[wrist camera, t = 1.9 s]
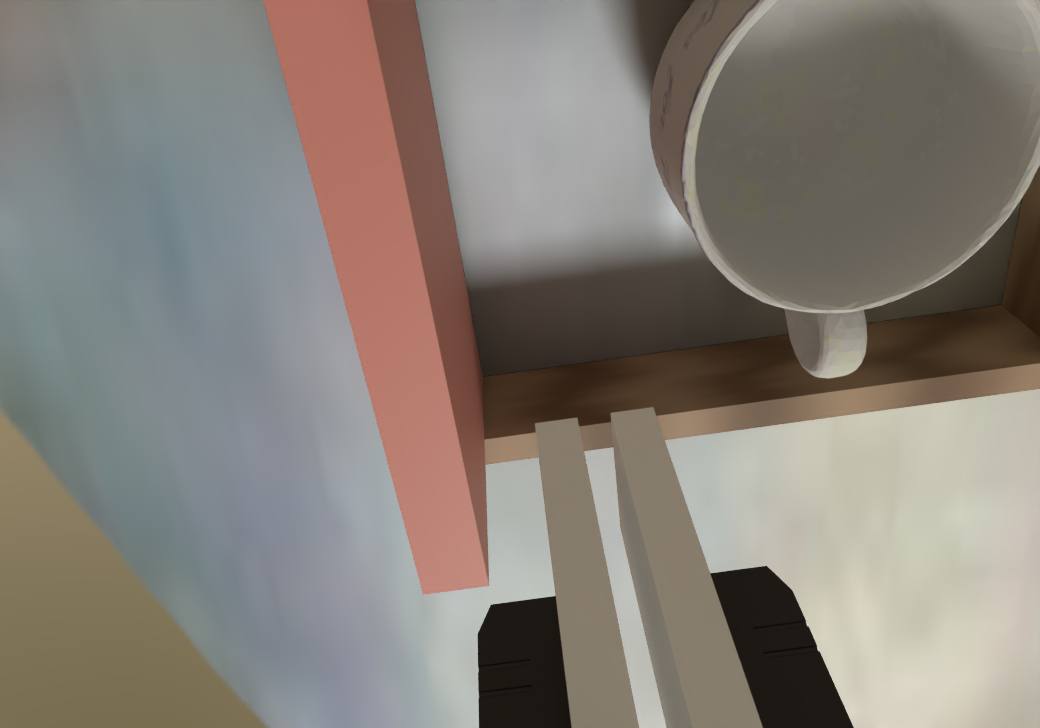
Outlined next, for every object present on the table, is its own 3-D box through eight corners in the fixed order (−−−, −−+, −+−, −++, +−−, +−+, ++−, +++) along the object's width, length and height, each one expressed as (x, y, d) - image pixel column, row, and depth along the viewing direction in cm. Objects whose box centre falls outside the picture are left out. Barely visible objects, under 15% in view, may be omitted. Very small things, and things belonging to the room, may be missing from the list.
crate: (1150, -259, 25) (1273, -280, 21) (1024, 325, 36) (1091, 381, 32) (325, -133, 26) (301, -132, 22) (442, 406, 36) (439, 470, 32)
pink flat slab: (398, -88, 26) (355, -54, 16) (482, 374, 35) (489, 585, 25) (336, -78, 26) (253, -39, 16) (435, 381, 35) (423, 594, 25)
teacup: (658, -98, 27) (723, -84, 20) (978, -73, 28) (1145, -51, 21) (604, 291, 34) (639, 399, 27) (860, 301, 35) (956, 409, 28)
